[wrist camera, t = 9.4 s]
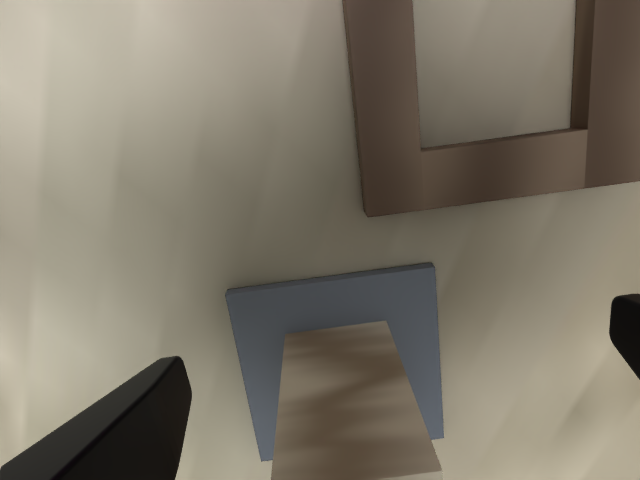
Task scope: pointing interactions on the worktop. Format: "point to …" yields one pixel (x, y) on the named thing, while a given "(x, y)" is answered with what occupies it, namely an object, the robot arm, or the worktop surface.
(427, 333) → the rubber mat
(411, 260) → the worktop surface
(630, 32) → the walnut collar
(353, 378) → the beech block
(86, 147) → the worktop surface
